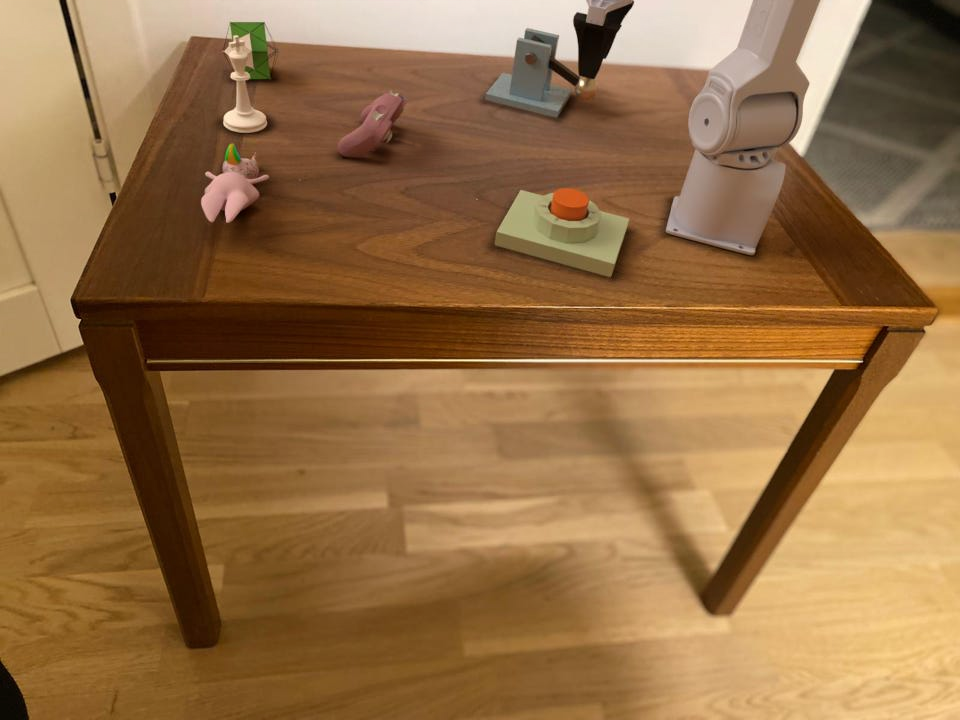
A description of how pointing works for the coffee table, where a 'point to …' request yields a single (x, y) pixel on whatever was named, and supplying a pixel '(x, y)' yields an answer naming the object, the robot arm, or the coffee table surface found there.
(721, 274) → the coffee table surface
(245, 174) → the pink plush unicorn
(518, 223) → the button block
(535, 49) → the switch bracket
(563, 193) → the button
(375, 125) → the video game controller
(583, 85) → the switch lever
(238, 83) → the chess piece
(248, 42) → the geometric puzzle
